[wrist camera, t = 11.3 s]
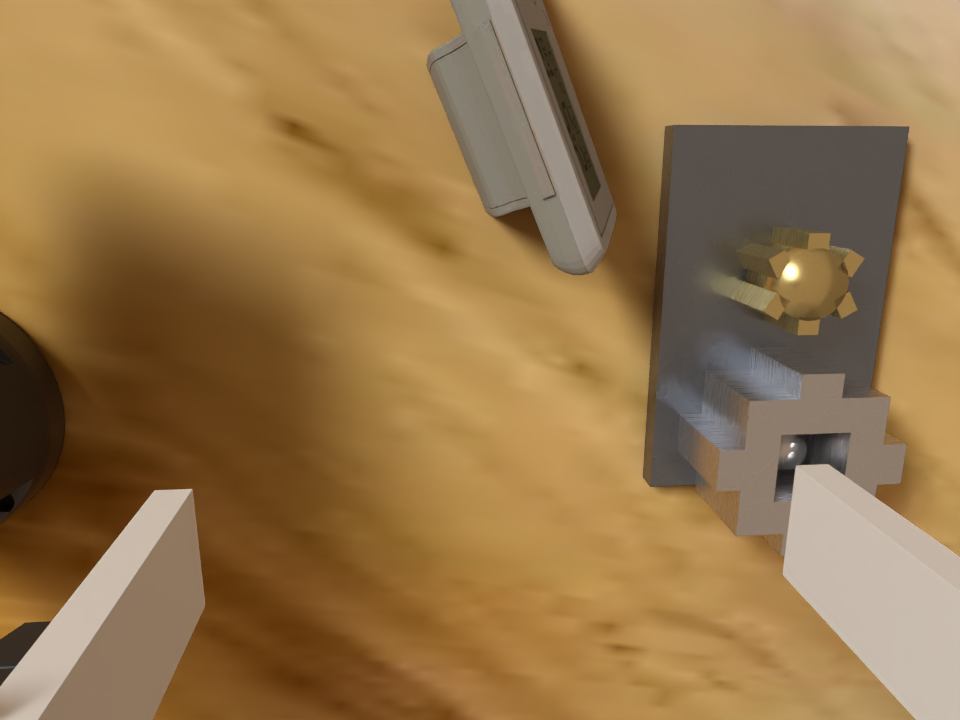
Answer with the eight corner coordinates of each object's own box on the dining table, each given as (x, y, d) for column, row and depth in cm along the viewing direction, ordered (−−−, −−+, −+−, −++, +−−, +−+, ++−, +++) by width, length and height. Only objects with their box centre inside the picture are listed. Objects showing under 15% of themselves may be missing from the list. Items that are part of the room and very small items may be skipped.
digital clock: (614, 237, 43) (677, 259, 33) (467, 268, 43) (485, 300, 33) (571, -60, 39) (628, -140, 29) (407, -28, 39) (407, -98, 28)
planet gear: (672, 511, 47) (709, 559, 41) (685, 349, 44) (726, 376, 38) (831, 504, 48) (889, 550, 42) (853, 345, 45) (918, 371, 39)
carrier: (642, 477, 48) (672, 515, 42) (665, 126, 42) (702, 120, 37) (844, 469, 49) (897, 505, 44) (892, 127, 43) (960, 122, 38)
